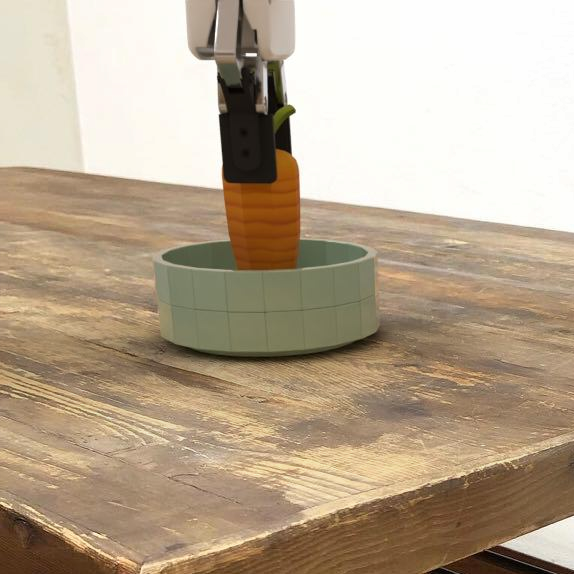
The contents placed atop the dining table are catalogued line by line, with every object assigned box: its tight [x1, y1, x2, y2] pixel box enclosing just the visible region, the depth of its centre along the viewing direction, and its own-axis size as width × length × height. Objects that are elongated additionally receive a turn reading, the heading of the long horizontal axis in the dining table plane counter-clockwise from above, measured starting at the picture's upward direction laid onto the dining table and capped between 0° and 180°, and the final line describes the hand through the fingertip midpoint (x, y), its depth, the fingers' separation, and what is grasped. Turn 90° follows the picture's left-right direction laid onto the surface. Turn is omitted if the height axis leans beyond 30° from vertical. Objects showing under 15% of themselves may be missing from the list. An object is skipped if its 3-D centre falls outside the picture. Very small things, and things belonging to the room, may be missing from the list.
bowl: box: [151, 237, 381, 358], centre depth 81 cm, size 14×14×6 cm
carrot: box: [221, 103, 301, 270], centre depth 79 cm, size 5×5×15 cm
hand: (259, 175), depth 78 cm, fingers closed on carrot, 4 cm apart
